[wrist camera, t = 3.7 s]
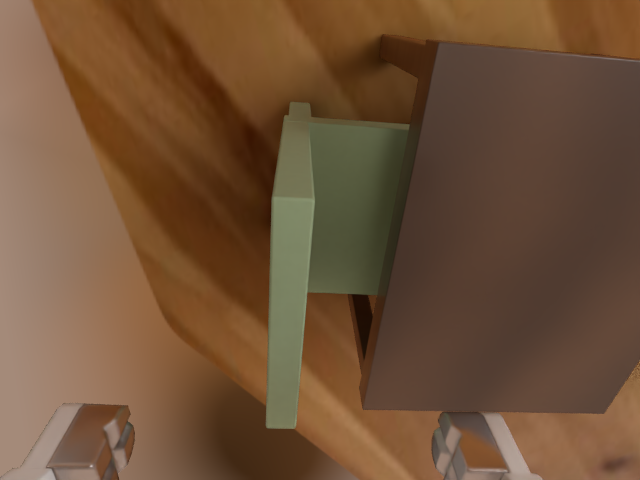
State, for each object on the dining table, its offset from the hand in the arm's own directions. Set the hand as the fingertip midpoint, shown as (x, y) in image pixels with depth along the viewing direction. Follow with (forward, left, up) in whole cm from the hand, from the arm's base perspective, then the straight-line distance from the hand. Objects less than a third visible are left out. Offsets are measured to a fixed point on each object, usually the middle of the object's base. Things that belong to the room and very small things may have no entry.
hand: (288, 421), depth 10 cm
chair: (+4, 0, -18) cm, 19 cm away
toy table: (+11, 0, -18) cm, 21 cm away
